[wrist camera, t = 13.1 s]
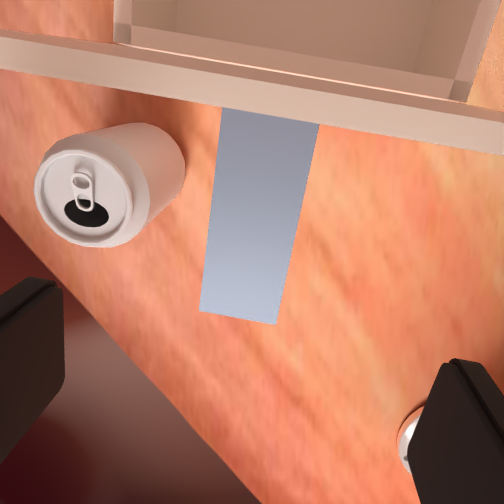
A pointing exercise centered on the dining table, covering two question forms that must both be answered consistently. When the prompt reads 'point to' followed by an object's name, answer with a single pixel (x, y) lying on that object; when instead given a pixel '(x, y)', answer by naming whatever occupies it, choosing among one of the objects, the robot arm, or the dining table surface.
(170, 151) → the can
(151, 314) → the dining table surface
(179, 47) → the mailer box
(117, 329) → the dining table surface
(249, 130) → the flap
